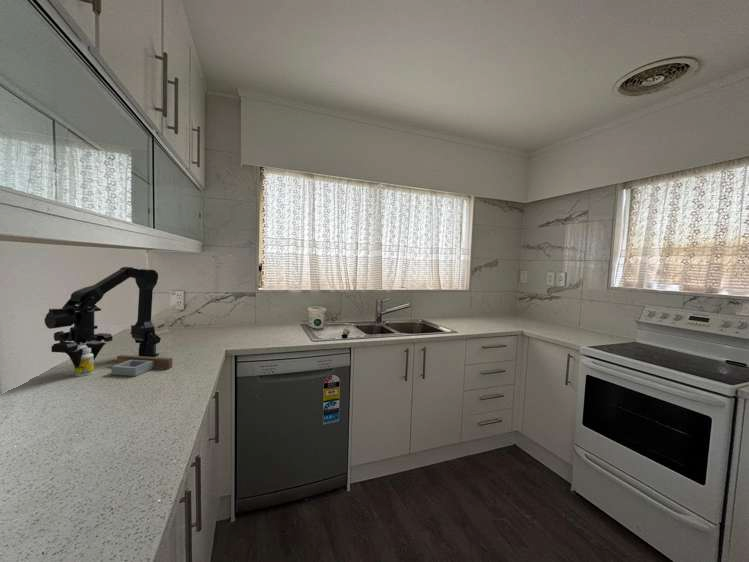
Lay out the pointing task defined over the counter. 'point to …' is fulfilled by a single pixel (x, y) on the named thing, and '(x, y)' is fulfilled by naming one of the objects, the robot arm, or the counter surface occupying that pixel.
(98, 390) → the counter surface
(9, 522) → the counter surface
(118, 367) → the socket block
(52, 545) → the counter surface
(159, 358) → the rail
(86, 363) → the supplement bottle
